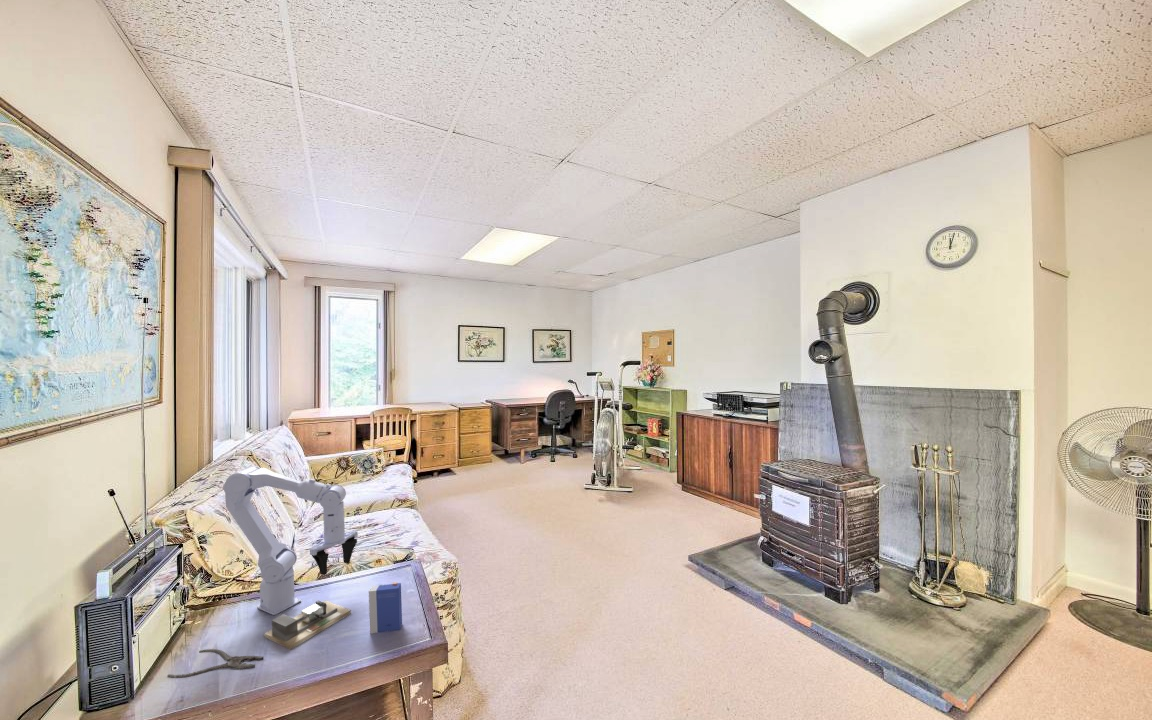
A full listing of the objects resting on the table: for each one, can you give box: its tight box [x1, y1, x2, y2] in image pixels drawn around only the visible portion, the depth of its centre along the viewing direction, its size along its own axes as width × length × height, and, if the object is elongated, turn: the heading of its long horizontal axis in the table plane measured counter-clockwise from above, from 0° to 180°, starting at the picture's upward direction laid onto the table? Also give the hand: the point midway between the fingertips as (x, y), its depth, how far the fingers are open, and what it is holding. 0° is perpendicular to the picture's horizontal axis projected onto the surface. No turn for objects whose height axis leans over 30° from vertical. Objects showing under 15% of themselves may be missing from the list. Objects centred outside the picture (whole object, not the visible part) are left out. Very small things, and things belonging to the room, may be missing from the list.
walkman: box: [368, 582, 403, 634], centre depth 117 cm, size 8×3×12 cm, turn 99°
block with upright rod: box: [301, 600, 326, 623], centre depth 120 cm, size 5×7×3 cm
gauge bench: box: [264, 600, 352, 650], centre depth 120 cm, size 17×12×5 cm
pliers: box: [167, 648, 265, 679], centre depth 107 cm, size 10×1×20 cm
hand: (335, 568), depth 133 cm, fingers open, 7 cm apart
